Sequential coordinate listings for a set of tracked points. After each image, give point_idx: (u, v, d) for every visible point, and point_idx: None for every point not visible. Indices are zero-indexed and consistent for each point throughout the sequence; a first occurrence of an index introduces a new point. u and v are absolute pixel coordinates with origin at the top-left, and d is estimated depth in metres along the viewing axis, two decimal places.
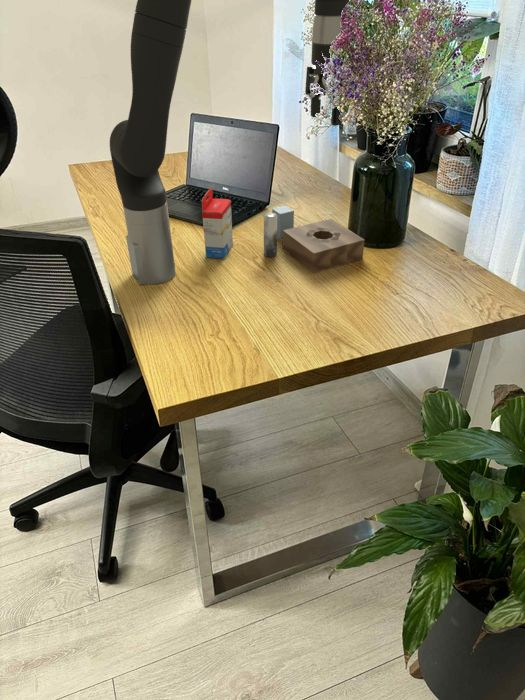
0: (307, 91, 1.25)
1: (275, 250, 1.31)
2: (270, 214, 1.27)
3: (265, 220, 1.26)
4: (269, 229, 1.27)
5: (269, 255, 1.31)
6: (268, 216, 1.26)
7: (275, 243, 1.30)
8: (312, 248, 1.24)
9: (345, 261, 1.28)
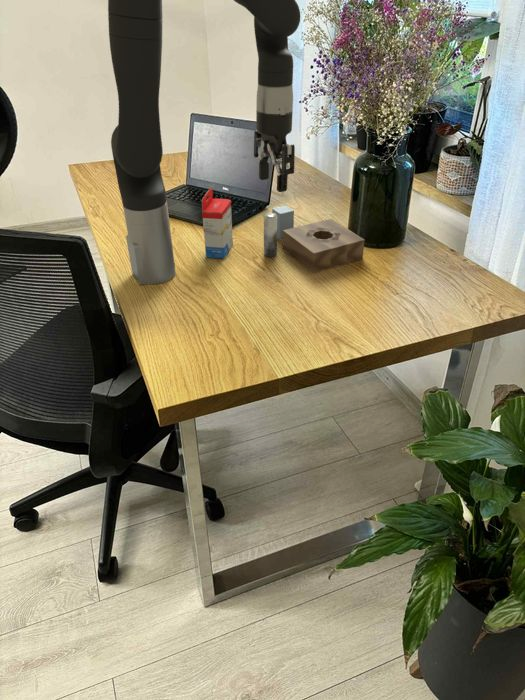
0: (255, 154, 1.23)
1: (275, 250, 1.31)
2: (270, 214, 1.27)
3: (265, 220, 1.26)
4: (268, 229, 1.27)
5: (269, 255, 1.31)
6: (268, 216, 1.26)
7: (275, 243, 1.30)
8: (312, 248, 1.24)
9: (345, 261, 1.28)
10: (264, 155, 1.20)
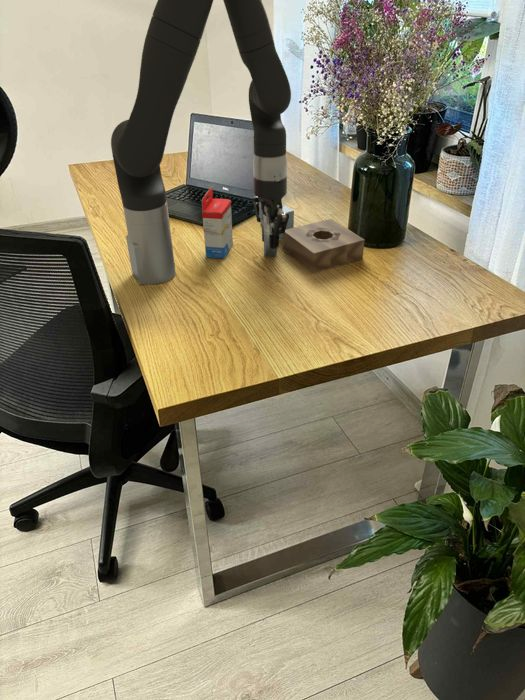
0: (258, 219, 1.30)
1: (275, 250, 1.31)
2: None
3: (265, 220, 1.26)
4: None
5: (269, 255, 1.31)
6: None
7: None
8: (312, 248, 1.24)
9: (345, 261, 1.28)
10: None
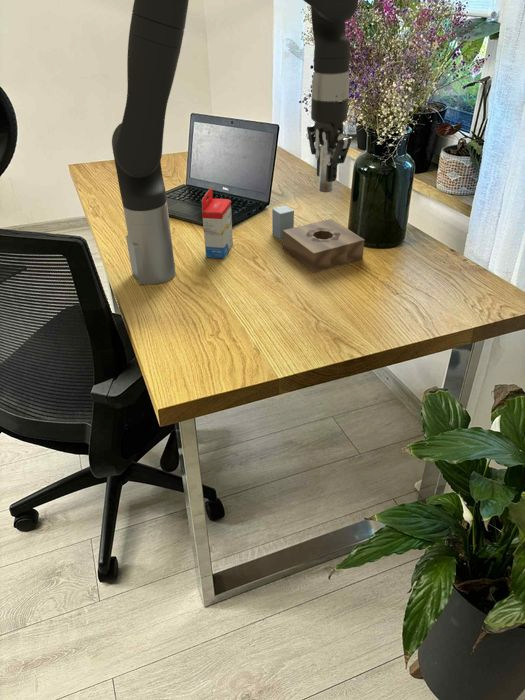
0: (313, 150, 1.20)
1: (331, 184, 1.21)
2: None
3: (322, 149, 1.16)
4: (326, 159, 1.17)
5: (325, 190, 1.21)
6: None
7: None
8: (312, 248, 1.24)
9: (345, 261, 1.28)
10: None
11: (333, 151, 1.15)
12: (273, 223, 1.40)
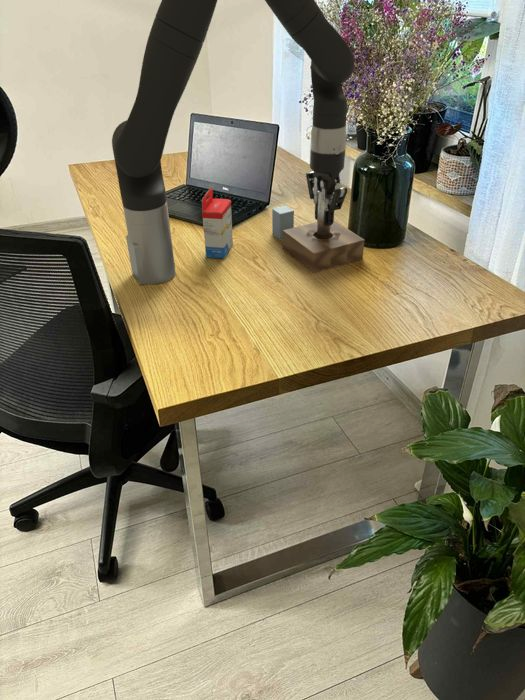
0: (311, 195, 1.26)
1: (329, 227, 1.27)
2: None
3: (320, 196, 1.23)
4: (324, 205, 1.23)
5: (323, 233, 1.27)
6: None
7: None
8: (312, 248, 1.24)
9: (345, 261, 1.28)
10: None
11: (330, 198, 1.21)
12: (273, 223, 1.39)
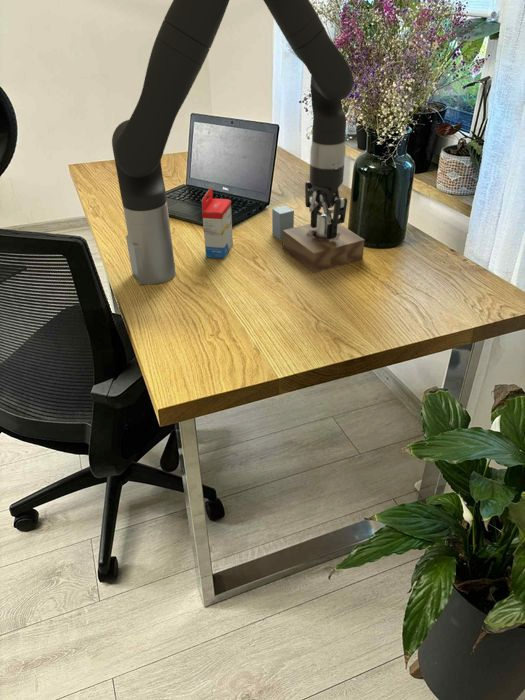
0: (307, 204, 1.29)
1: None
2: None
3: (319, 220, 1.26)
4: (322, 228, 1.27)
5: None
6: (322, 215, 1.26)
7: None
8: (312, 248, 1.24)
9: (345, 261, 1.28)
10: (316, 204, 1.27)
11: (332, 211, 1.22)
12: (273, 223, 1.40)
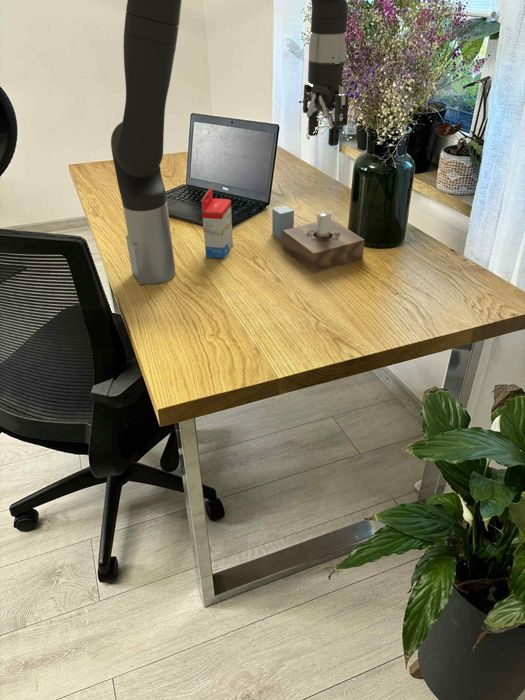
0: (304, 109, 1.21)
1: None
2: (324, 213, 1.27)
3: (319, 219, 1.26)
4: (322, 228, 1.27)
5: None
6: (322, 215, 1.26)
7: None
8: (312, 248, 1.24)
9: (345, 261, 1.28)
10: (314, 109, 1.18)
11: (333, 112, 1.13)
12: (273, 223, 1.40)
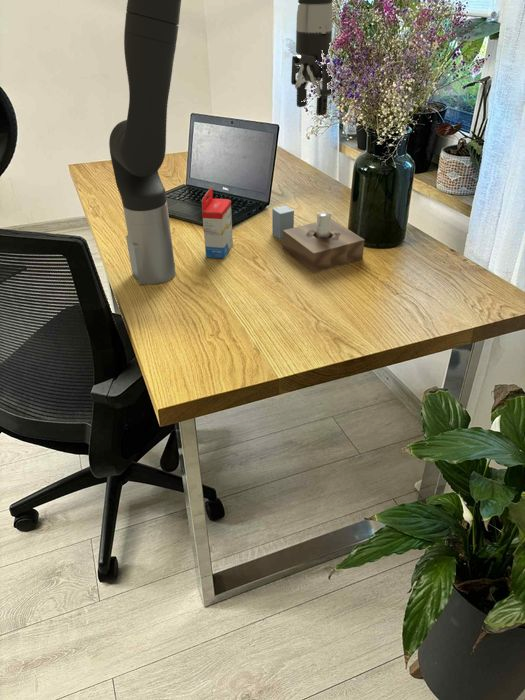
0: (293, 81, 1.25)
1: None
2: (324, 213, 1.27)
3: (319, 219, 1.26)
4: (322, 228, 1.27)
5: None
6: (322, 215, 1.26)
7: None
8: (312, 248, 1.24)
9: (345, 261, 1.28)
10: (302, 80, 1.22)
11: (321, 82, 1.17)
12: (273, 223, 1.39)
